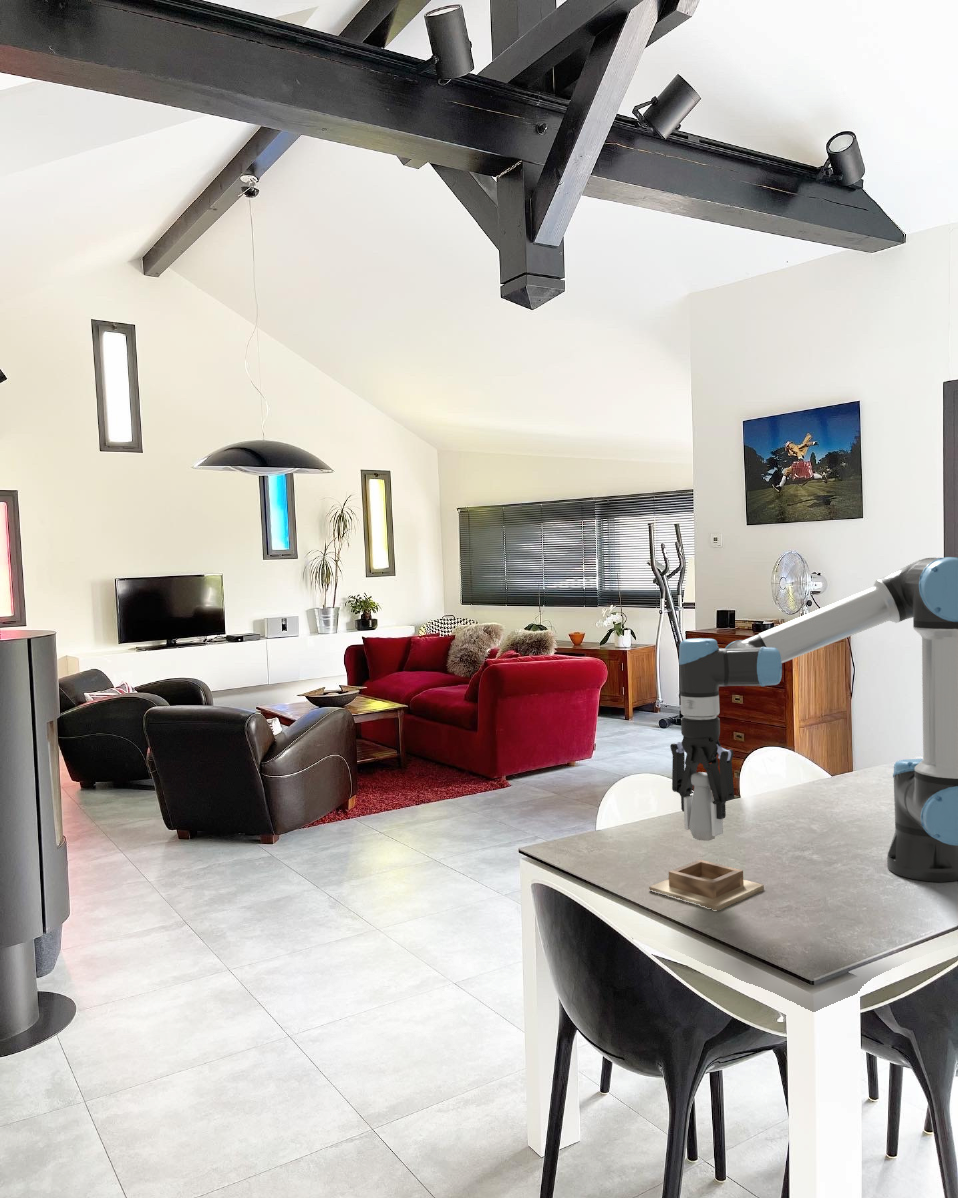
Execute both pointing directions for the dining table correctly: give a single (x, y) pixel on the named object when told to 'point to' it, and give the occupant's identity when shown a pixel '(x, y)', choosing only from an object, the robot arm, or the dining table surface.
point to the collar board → (708, 884)
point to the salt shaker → (701, 808)
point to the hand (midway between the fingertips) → (703, 831)
